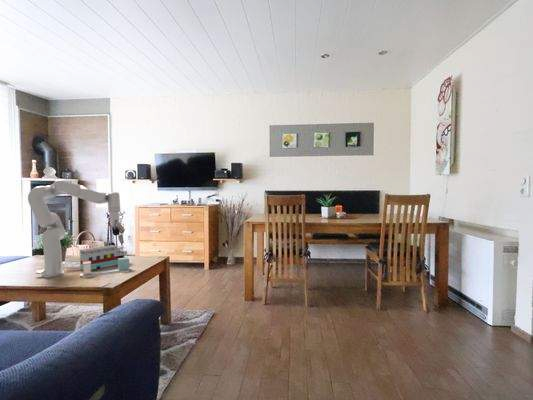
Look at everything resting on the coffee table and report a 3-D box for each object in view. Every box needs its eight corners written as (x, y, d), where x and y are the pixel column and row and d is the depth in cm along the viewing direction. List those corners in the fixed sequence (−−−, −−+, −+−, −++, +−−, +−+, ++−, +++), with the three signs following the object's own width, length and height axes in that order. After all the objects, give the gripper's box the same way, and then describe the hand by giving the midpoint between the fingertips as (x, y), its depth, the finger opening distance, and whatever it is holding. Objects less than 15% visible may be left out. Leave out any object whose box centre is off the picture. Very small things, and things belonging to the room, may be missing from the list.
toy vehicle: (127, 264, 233) (127, 244, 233) (85, 272, 209) (84, 251, 209) (122, 262, 238) (122, 243, 238) (80, 270, 214) (79, 249, 214)
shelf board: (80, 279, 193) (80, 276, 193) (79, 275, 203) (79, 272, 203) (131, 272, 209) (131, 269, 209) (128, 268, 219) (128, 266, 218)
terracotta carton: (83, 276, 196) (82, 264, 196) (83, 274, 202) (82, 262, 202) (91, 275, 199) (91, 263, 199) (90, 273, 204) (90, 261, 204)
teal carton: (129, 269, 212) (129, 258, 212) (118, 271, 209) (118, 259, 208) (128, 268, 216) (128, 257, 216) (118, 269, 212) (117, 258, 212)
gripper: (107, 210, 217) (108, 233, 218) (109, 210, 203) (111, 236, 203) (118, 209, 221) (120, 232, 222) (122, 210, 207) (123, 235, 208)
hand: (116, 234), depth 213 cm, fingers open, 9 cm apart
